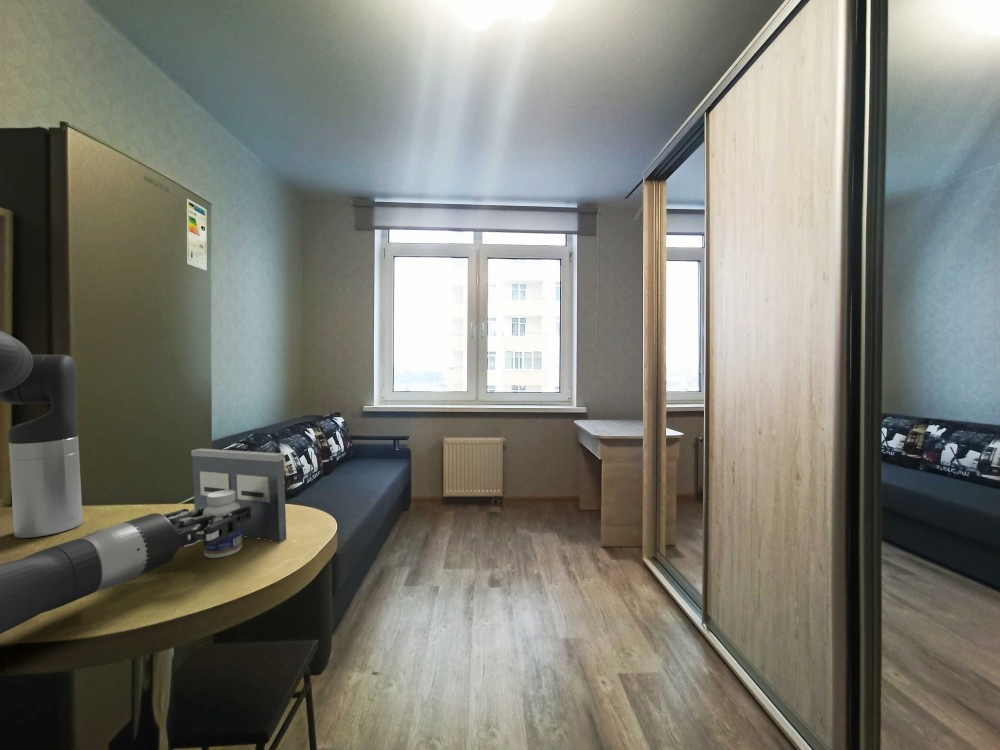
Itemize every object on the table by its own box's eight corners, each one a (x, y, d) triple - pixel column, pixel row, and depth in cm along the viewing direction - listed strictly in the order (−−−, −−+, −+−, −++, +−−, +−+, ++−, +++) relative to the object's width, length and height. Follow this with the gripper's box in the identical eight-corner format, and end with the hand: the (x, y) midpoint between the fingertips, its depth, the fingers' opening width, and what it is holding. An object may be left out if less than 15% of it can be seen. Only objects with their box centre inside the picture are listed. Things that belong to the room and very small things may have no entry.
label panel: (194, 530, 83) (190, 450, 83) (203, 526, 85) (200, 448, 85) (278, 542, 77) (275, 456, 76) (287, 538, 79) (284, 453, 78)
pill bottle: (199, 552, 74) (197, 493, 73) (236, 542, 78) (234, 486, 77) (209, 562, 70) (206, 500, 70) (247, 551, 74) (244, 492, 74)
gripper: (160, 529, 58) (268, 491, 74) (88, 518, 62) (204, 485, 78) (163, 586, 58) (269, 536, 74) (91, 571, 62) (205, 527, 78)
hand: (235, 510), depth 76 cm, fingers closed on pill bottle, 5 cm apart
